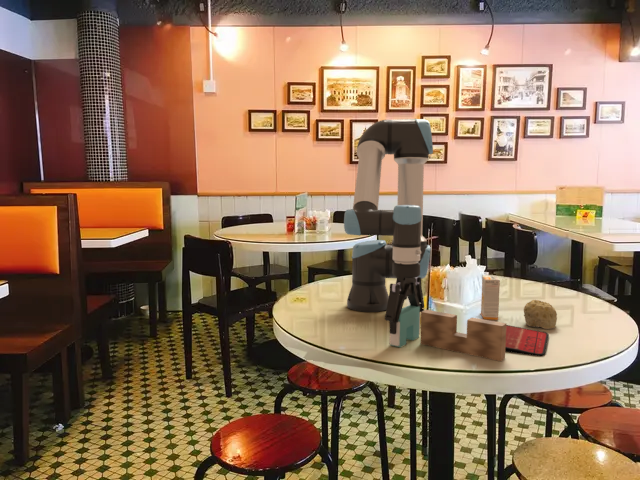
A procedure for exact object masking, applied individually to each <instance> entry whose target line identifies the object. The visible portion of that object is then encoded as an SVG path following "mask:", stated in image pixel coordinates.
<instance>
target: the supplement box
mask: <svg viewBox="0 0 640 480" xmlns="http://www.w3.org/2000/svg"><path fill="white" fill-rule="evenodd" d="M481 279H482V280H481V300H480V301H481V302H480V303H481V304H480V314H481V316H482V319H484V320H489V321H498V320H499V310H500V309H499V307H500V284H501V283H500V282H501V280H500V278H499V277H498V275H487V274H486V275H482V276H481Z"/></svg>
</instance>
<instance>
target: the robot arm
mask: <svg viewBox="0 0 640 480" xmlns="http://www.w3.org/2000/svg"><path fill="white" fill-rule="evenodd" d="M432 135H433V134H432V129H431V124H430V121H429V120H427V119H425V118H424V119H423V118H405V119H404V118H401V119H381V120H379V121H376V122H375V123H373V124H371V125H370V126H369V127H368V128H367V129H366V130H365V131H364V132H363V133H362V134H361V136H360V138H359V140H358V142H357V146H356V156H357V158H358V164H357V170H356V171H357V173H356V179H355V189H354V195H353V196H354V197H353V203H352V204H353V205H352V209H346V210H345V212H344V216H343V230H344V232H345V234H347V235H351V236H359V237H360V236H387V237H388V236H390V237H392V242H391V244H387V242H386V240H385V239H374V240H373V239H372V240H366V241H360V242H358V243H355V244H354V245H353V246H352V254H351V259H352V263H351V264H352V266H351V268H352V270H351V271H352V272H351V287H350V290H349V293H348V295H347V296H348V297H347V299H346V307H347V308H348V309H350V310H352V311H356V312H365V313H376V312H377V313H378V312H383V311H385V315H384V320H385V321H387V322H389V345H390V344H391V345H395V346H394V347H396V346H399V345H400V322H398V320H399V317H400V313H401V310H402V308H404V303H405V301H406V300H408V302H409V305H412V306H417V307H418V306H419V307H420V312H419V336H421V312H422V311H424V310H425V301H424V296H423V295H424V294H423V289H422V280H423V279H425V278H426V277H427V275H428V270H429V266H430V257H431V251H432V246H431V245H429V244H427V242H428V241H427V239H426V237H425V236H423V221H424V219H423V217H424V215H423V214H424V213H423V212H424V179H425V178H424V168H425V167H424V166H425V164H426V163H427V161H428V160H429V155H433V153H434V147H433V146H434V145H433V136H432ZM386 155H393V161H394V162H395V163H396V164H397V204H396V205H395V206H394V208H393V209H379V201H380V200H379V199H380V188H381V177H382V173H381V172H382V163H383V160H384V159H385V156H386ZM430 246H431V247H430ZM386 279H396V281H395V283H390V284H389V292H388V289H387V286H386ZM391 345H390V346H391Z"/></svg>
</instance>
